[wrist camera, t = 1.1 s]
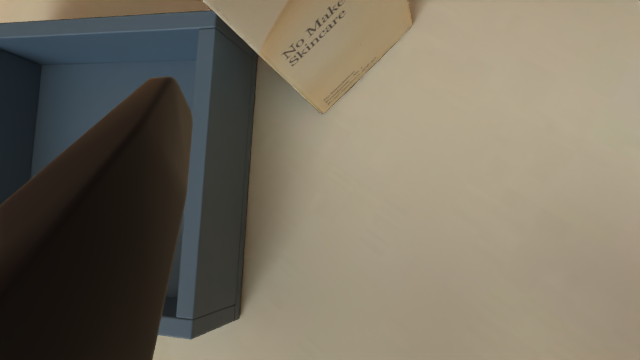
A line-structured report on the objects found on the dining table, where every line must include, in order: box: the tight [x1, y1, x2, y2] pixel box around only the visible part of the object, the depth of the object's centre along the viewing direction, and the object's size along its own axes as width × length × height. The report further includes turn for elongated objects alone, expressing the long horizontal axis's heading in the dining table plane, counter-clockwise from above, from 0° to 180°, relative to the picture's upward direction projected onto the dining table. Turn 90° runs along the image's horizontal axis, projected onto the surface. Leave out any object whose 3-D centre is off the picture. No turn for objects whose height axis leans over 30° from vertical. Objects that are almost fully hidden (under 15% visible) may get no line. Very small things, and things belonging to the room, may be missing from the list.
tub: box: [0, 10, 257, 339], centre depth 24 cm, size 14×14×5 cm
